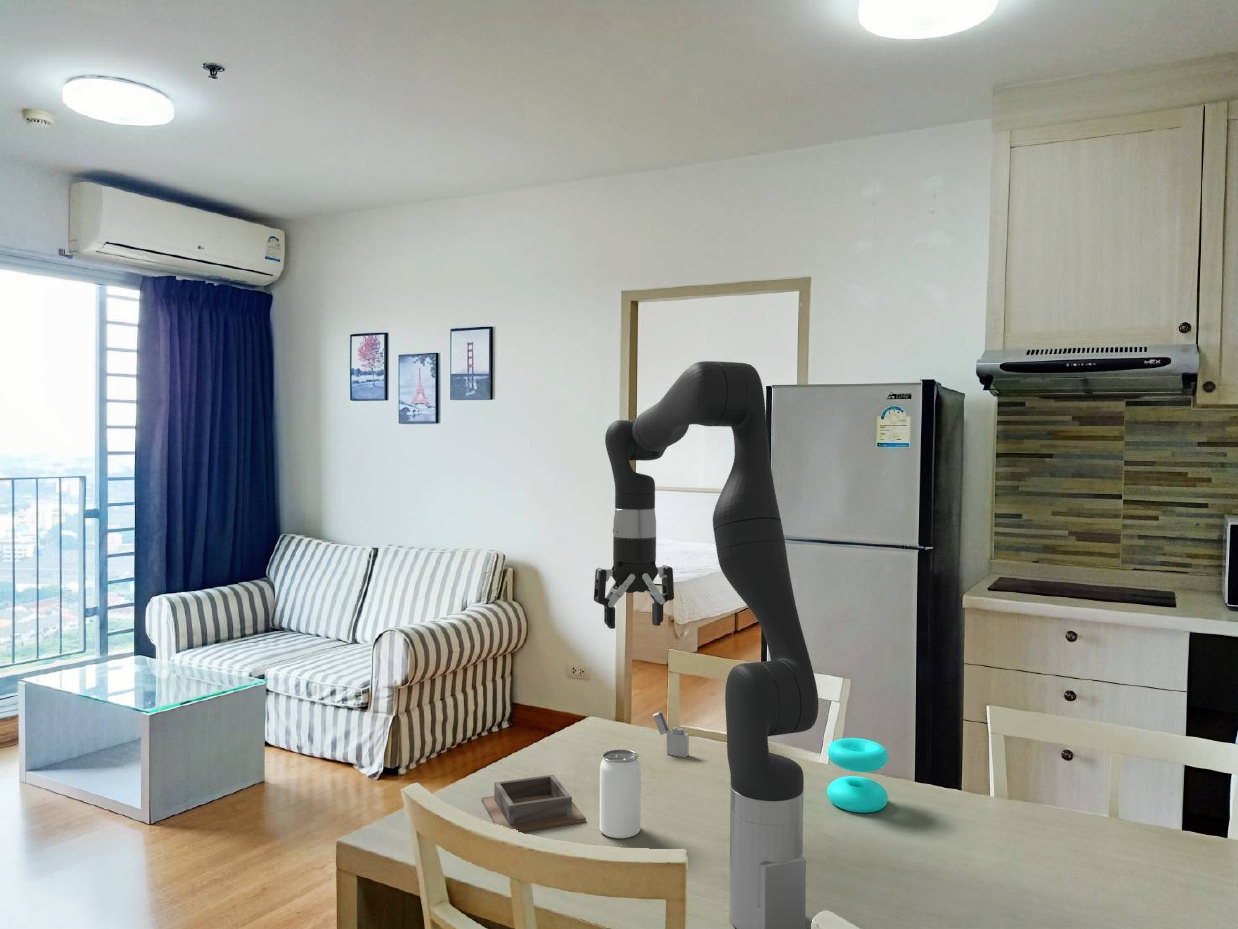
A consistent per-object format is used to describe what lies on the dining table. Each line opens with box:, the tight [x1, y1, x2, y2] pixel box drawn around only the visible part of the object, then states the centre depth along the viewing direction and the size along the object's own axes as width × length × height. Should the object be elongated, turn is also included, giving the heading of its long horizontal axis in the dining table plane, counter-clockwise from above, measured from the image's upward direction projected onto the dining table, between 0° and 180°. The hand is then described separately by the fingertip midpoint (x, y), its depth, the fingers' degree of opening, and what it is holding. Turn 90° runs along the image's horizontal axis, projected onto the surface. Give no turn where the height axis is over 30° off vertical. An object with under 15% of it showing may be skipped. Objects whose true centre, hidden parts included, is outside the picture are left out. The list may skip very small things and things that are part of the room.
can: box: [599, 749, 642, 840], centre depth 138 cm, size 6×6×12 cm
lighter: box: [652, 710, 690, 758], centre depth 173 cm, size 7×2×8 cm, turn 65°
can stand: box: [481, 774, 587, 833], centre depth 145 cm, size 14×14×4 cm
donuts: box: [826, 737, 889, 813], centre depth 149 cm, size 10×10×10 cm
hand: (634, 626), depth 153 cm, fingers open, 8 cm apart
